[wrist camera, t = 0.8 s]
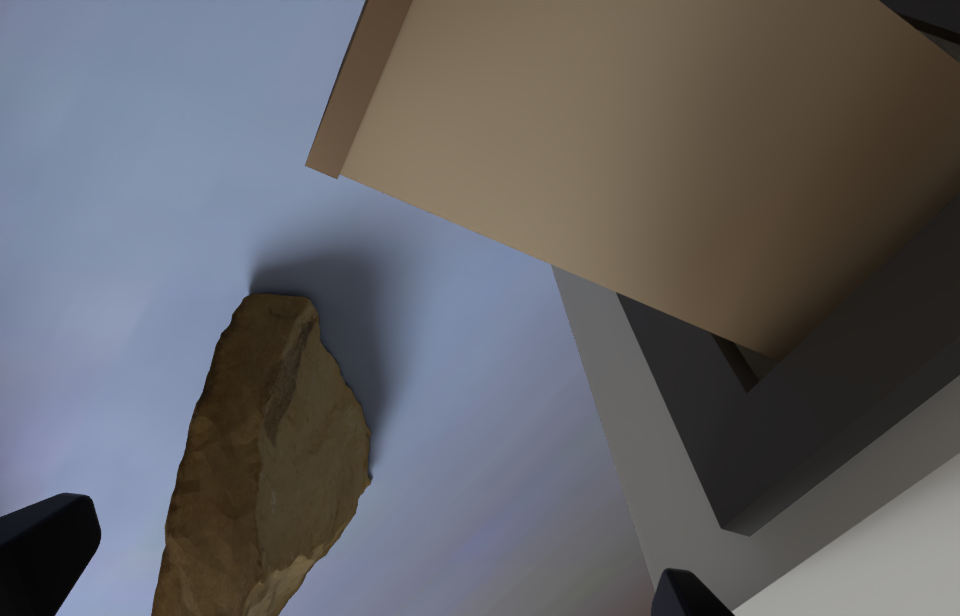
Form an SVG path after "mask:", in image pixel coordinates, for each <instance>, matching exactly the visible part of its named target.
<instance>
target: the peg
mask: <svg viewBox="0 0 960 616" xmlns="http://www.w3.org/2000/svg"><path fill="white" fill-rule="evenodd" d="M305 166H307V167H309V168H312V169H314V170H317V171H319V172H321V173H324V174H326V175H328V176H331V177H333V178H336V179H337V178H338V176H339V174H340V175H343V176H345V177H347V178H350V179H352V180H354V181H357V182H359V183H361V184H364V185H366V186H368V187H371V188H373V189H375V190H378V191H380V192H382V193H385V194H387V195H390V196H392V197H394V198H397V199H399V200H401V201H404V202H406V203H408V204H411V205H413V206H415V207H418V208H420V209H422V210H425V211H427V212H429V213H432V214H434V215H436V216H439V217H441V218H444V219H446V220H448V221H451V222H453V223H455V224H458V225H460V226H462V227H465V228H467V229H469V230H472V231H474V232H476V233H479V234H481V235H483V236H486V237H488V238H490V239H493V240H495V241H498V242H500V243H502V244H505V245H507V246H509V247H512V248H514V249H516V250H519V251H521V252H523V253H526V254H528V255H530V256H533V257H535V258H537V259H540V260H542V261H544V262H547V263H549V264H552V265H554V266H556V267H559V268H561V269H563V270H566V271H568V272H570V273H573V274H575V275H577V276H580V277H582V278H584V279H587V280H589V281H591V282H594V283H596V284H598V285H601V286H603V287H606V288H608V289H610V290H613V291H615V292H617V293H620V294H622V295H624V296H627V297H629V298H631V299H634V300H636V301H638V302H641V303H643V304H645V305H648V306H650V307H652V308H655V309H657V310H660V311H662V312H664V313H667V314H669V315H671V316H674V317H676V318H678V319H681V320H683V321H685V322H688V323H690V324H692V325H695V326H697V327H699V328H702V329H704V330H706V331H709V332H711V333H714V334H716V335H718V336H721V337H723V338H725V339H728V340H730V341H732V342H735V343H737V344H739V345H742V346H744V347H746V348H749V349H751V350H753V351H756V352H758V353H760V354H763V355H765V356H768V357H770V358H772V359H775V360H777V361H779V362H781V361H782V360H783V359H784V358H785V357H786V356H787V355H788V354H789V353H790V352H791V351H792V350H793V349H794V348H795V347H796V346H798V345H799V344H800V343H801V342H802V341H803V340H804V339H805V338H806V337H807V336H808V335H809V334H810V333H811V332H812V331H813V330H814V329H816V328H817V327H818V326H819V325H820V324H821V323H822V322H823V321H824V320H825V319H826V318H827V317H828V316H829V315H830V314H831V313H832V312H834V311H835V310H836V309H837V308H838V307H839V306H840V305H841V304H842V303H843V302H844V301H845V300H846V299H847V298H848V297H849V296H850V295H851V294H853V293H854V292H855V291H856V290H857V289H858V288H859V287H860V286H861V285H862V284H863V283H864V282H865V281H866V280H867V279H868V278H869V277H871V276H872V275H873V274H874V273H875V272H876V271H877V270H878V269H879V268H880V267H881V266H882V265H883V264H884V263H885V262H886V261H887V260H889V259H890V258H891V257H892V256H893V255H894V254H895V253H896V252H897V251H898V250H899V249H900V248H901V247H902V246H903V245H904V244H905V243H906V242H908V241H909V240H910V239H911V238H912V237H913V236H914V235H915V234H916V233H917V232H918V231H919V230H920V229H921V228H922V227H923V226H924V225H926V224H927V223H928V222H929V221H930V220H931V219H932V218H933V217H934V216H935V215H936V214H937V213H938V212H939V211H940V210H941V209H942V208H944V207H945V206H946V205H947V204H948V203H949V202H950V201H951V200H952V199H953V198H954V197H955V196H956V195H957V194H958V193H959V192H960V63H959V62H958V61H957V60H955V59H954V58H953V57H951V56H950V55H949V54H948V53H946V52H945V51H944V50H942V49H941V48H940V47H938V46H937V45H936V44H935V43H933V42H932V41H931V40H929V39H928V38H927V37H926V36H924V35H923V34H922V33H920V32H919V31H918V30H917V29H915V28H914V27H913V26H911V25H910V24H909V23H908V22H906V21H905V20H904V19H902V18H901V17H900V16H899V15H897V14H896V13H895V12H893V11H892V10H891V9H890V8H888V7H887V6H886V5H884V4H883V3H882V2H880V1H879V0H366V1H365V3H364V6H363V9H362V11H361V14H360V16H359V19H358V22H357V24H356V27H355V30H354V32H353V35H352V37H351V40H350V43H349V45H348V48H347V50H346V53H345V56H344V58H343V61H342V64H341V67H340V69H339V72H338V75H337V78H336V81H335V83H334V86H333V89H332V92H331V94H330V97H329V100H328V103H327V106H326V108H325V111H324V114H323V117H322V120H321V122H320V125H319V128H318V131H317V134H316V136H315V139H314V142H313V145H312V147H311V150H310V153H309V156H308V159H307V161H306V164H305Z"/></svg>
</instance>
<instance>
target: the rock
mask: <svg viewBox="0 0 960 616" xmlns="http://www.w3.org/2000/svg"><path fill="white" fill-rule="evenodd" d="M362 411H363V410H362V407H361V405H360V403H358V402H357V401H356V398H355V396H354V393H353V392H352V390H351V388H349V387H348V386H347V385H346V384H345V382H344V379H343V377H342V376H341V374H340V367H339V365H338V364H337V362H336V361H335V359H334V358H333V356H332V355H331V354H330V353H329V352H327V350H326V349H325V347H324V346H323V344H322V342H321V341H320V327H319V315H318V311H317V310H316V309H315V307H314V306H313V304H312V302H311V300H310V299H309V298H307V297H301V296H283V295H275V294H268V293H263V294H251V295H249V296H247V297H245V298H244V299H243V301H242V303H241V304H240V305H239V307H238V308H237V309H236V310H235V312H234V313H233V314H232V320H231V323H230V325H229V326H228V327H227V328H226V329H225V330H224V331H223V332H222V333H221V336H220V339H219V341H218V342H217V344H216V347H215V351H214V355H213V359H212V363H211V367H210V370H209V372H208V374H207V377H206V381H205V385H204V389H203V393H202V395H201V397H200V398H199V400H198V401H197V403H196V406H195V409H194V412H193V416H192V419H191V422H190V425H189V430H188V438H187V442H186V449H185V452H184V456H183V459H182V461H181V463H180V465H179V468H178V472H177V479H176V485H175V489H174V491H173V494H172V497H171V501H170V506H169V510H168V515H167V519H166V524H165V543H166V546H165V549H164V551H163V554H162V561H161V567H160V572H159V577H158V584H157V587H156V591H155V595H154V601H153V608H152V614H151V616H278V615H279V614H280V612H281V611H282V609H283V608H284V607H285V605H286V604H287V602H288V600H289V599H290V598H291V597H292V596H293V595H294V594H295V593H296V592H297V590H298V589H299V588H300V586H301V585H302V583H303V581H304V579H305V576H306V574H307V573H308V572H309V571H310V569H311V568H312V567H313V565H314V564H315V563H316V562H317V561H318V560H319V559H321V558H323V557H324V556H326V554H327V553H328V551H329V549H330V548H331V547H332V546H333V545H334V543H335V542H336V541H337V540H338V539H339V538H340V536H341V534H342V533H343V531H344V529H345V528H346V526H347V525H348V524H349V522H350V521H351V519H352V518H353V516H354V515H355V514H356V509H357V506H358V499H359V497H360V495H361V494H363V493H364V490H365V489H366V488H367V486H369V485H370V484H371V479H370V478H369V477H368V475H367V469H368V458H367V457H368V454H369V449H370V445H369V438H370V437H371V431H370V430H369V428H368V426H367V425H366V422H365V419H364V415H363V412H362Z"/></svg>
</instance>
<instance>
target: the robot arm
mask: <svg viewBox="0 0 960 616" xmlns="http://www.w3.org/2000/svg"><path fill="white" fill-rule="evenodd" d="M100 540H101V528H100V525H99V521H98V518H97V514H96V511H95V507H94V504H93V501H92V499H91V498H90V497H89V496H87V495H82V494H73V493H61V494H58V495H55V496H53V497H50V498H48V499H45V500H43V501H40V502H37V503H35V504H32V505H30V506H27V507H25V508H22V509H20V510H17V511H15V512H12V513H9V514H7V515H4V516H2V517H0V616H55V615H56V613H57V612H58V610H59V608H60V607H61V605H62V604H63V602H64V601H65V599H66V598H67V596H68V594H69V593H70V591H71V590H72V588H73V587H74V585H75V584H76V582H77V580H78V579H79V577H80V576H81V574H82V573H83V571H84V570H85V568H86V566H87V565H88V563H89V562H90V560H91V559H92V557H93V556H94V554H95V552H96V551H97V549H98V546H99V544H100ZM651 616H735V615H734V614H733V613H732V612H731V611H730V610H729V609H728V608H727V607H726V606H725V605H724V604H723V603H722V602H721V601H720V600H719V599H718V598H717V597H716V595H715V594H714V593H713V592H712V591H711V590H710V589H709V588H708V587H707V586H706V585H705V584H704V583H703V582H702V581H701V580H700V579H699V578H698V577H697V576H696V575H695V574H694V573H692V572H691V571H689V570H682V569H675V568H666V569H664V570H663V572H662V574H661V577H660V580H659V583H658V586H657V589H656V592H655V595H654V599H653V602H652V608H651Z"/></svg>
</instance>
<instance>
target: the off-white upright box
mask: <svg viewBox="0 0 960 616" xmlns="http://www.w3.org/2000/svg"><path fill="white" fill-rule="evenodd" d="M879 1H880V2H882V3H883V4H884V5H886V6H887V7H888V8H890V9H891V10H892V11H893V12H895V13H896V14H897V15H899V16H900V17H901V18H902V19H904V20H905V21H906V22H908V23H909V24H910V25H911V26H913V27H914V28H915V29H917V30H918V31H919V32H920V33H922V34H923V35H924V36H926V37H927V38H928V39H929V40H931V41H932V42H933V43H935V44H936V45H937V46H938V47H940V48H941V49H942V50H944V51H945V52H946V53H948V54H949V55H950V56H951V57H953V58H954V59H955V60H957V61H958V62H959V63H960V0H879ZM551 266H552V270H553V273H554V276H555V279H556V282H557V285H558V288H559V291H560V295H561V298H562V301H563V304H564V307H565V310H566V313H567V317H568V320H569V323H570V326H571V329H572V332H573V335H574V339H575V342H576V345H577V348H578V351H579V354H580V357H581V360H582V364H583V367H584V370H585V373H586V376H587V379H588V382H589V386H590V389H591V392H592V395H593V398H594V401H595V404H596V407H597V411H598V414H599V417H600V420H601V423H602V426H603V429H604V433H605V436H606V439H607V442H608V445H609V448H610V451H611V455H612V458H613V461H614V464H615V467H616V470H617V473H618V476H619V480H620V483H621V486H622V489H623V492H624V495H625V498H626V502H627V505H628V508H629V511H630V514H631V517H632V520H633V523H634V527H635V530H636V533H637V536H638V539H639V542H640V545H641V549H642V552H643V555H644V558H645V561H646V564H647V567H648V571H649V574H650V577H651V580H652V583H653V586H654V589H655V592H656V589H657V586H658V583H659V580H660V577H661V574H662V572H663V570H664V569H666V568H675V569H682V570H689V571H691V572H692V573H694V574H695V575H696V576H697V577H698V578H699V579H700V580H701V581H702V582H703V583H704V584H705V585H706V586H707V587H708V588H709V589H710V590H711V591H712V592H713V593H714V594H715V595H716V597H717V598H718V599H719V600H720V601H721V602H722V603H723V604H724V605H725V606H726V607H727V608H728V609H729V610H730V611H731V612H732V613H733V614H734V615H735V616H960V192H959V193H958V194H957V195H956V196H955V197H954V198H953V199H952V200H951V201H950V202H949V203H948V204H947V205H946V206H945V207H944V208H942V209H941V210H940V211H939V212H938V213H937V214H936V215H935V216H934V217H933V218H932V219H931V220H930V221H929V222H928V223H927V224H926V225H924V226H923V227H922V228H921V229H920V230H919V231H918V232H917V233H916V234H915V235H914V236H913V237H912V238H911V239H910V240H909V241H908V242H906V243H905V244H904V245H903V246H902V247H901V248H900V249H899V250H898V251H897V252H896V253H895V254H894V255H893V256H892V257H891V258H890V259H889V260H887V261H886V262H885V263H884V264H883V265H882V266H881V267H880V268H879V269H878V270H877V271H876V272H875V273H874V274H873V275H872V276H871V277H869V278H868V279H867V280H866V281H865V282H864V283H863V284H862V285H861V286H860V287H859V288H858V289H857V290H856V291H855V292H854V293H853V294H851V295H850V296H849V297H848V298H847V299H846V300H845V301H844V302H843V303H842V304H841V305H840V306H839V307H838V308H837V309H836V310H835V311H834V312H832V313H831V314H830V315H829V316H828V317H827V318H826V319H825V320H824V321H823V322H822V323H821V324H820V325H819V326H818V327H817V328H816V329H814V330H813V331H812V332H811V333H810V334H809V335H808V336H807V337H806V338H805V339H804V340H803V341H802V342H801V343H800V344H799V345H798V346H796V347H795V348H794V349H793V350H792V351H791V352H790V353H789V354H788V355H787V356H786V357H785V358H784V359H783V360H782V361H781V362H779V361H777V360H775V359H772V358H770V357H768V356H765V355H763V354H760V353H758V352H756V351H753V350H751V349H749V348H746V347H744V346H742V345H739V344H737V343H735V342H732V341H730V340H728V339H725V338H723V337H721V336H718V335H716V334H714V333H711V332H709V331H706V330H704V329H702V328H699V327H697V326H695V325H692V324H690V323H688V322H685V321H683V320H681V319H678V318H676V317H674V316H671V315H669V314H667V313H664V312H662V311H660V310H657V309H655V308H652V307H650V306H648V305H645V304H643V303H641V302H638V301H636V300H634V299H631V298H629V297H627V296H624V295H622V294H620V293H617V292H615V291H613V290H610V289H608V288H606V287H603V286H601V285H598V284H596V283H594V282H591V281H589V280H587V279H584V278H582V277H580V276H577V275H575V274H573V273H570V272H568V271H566V270H563V269H561V268H559V267H556V266H554V265H552V264H551Z"/></svg>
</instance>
